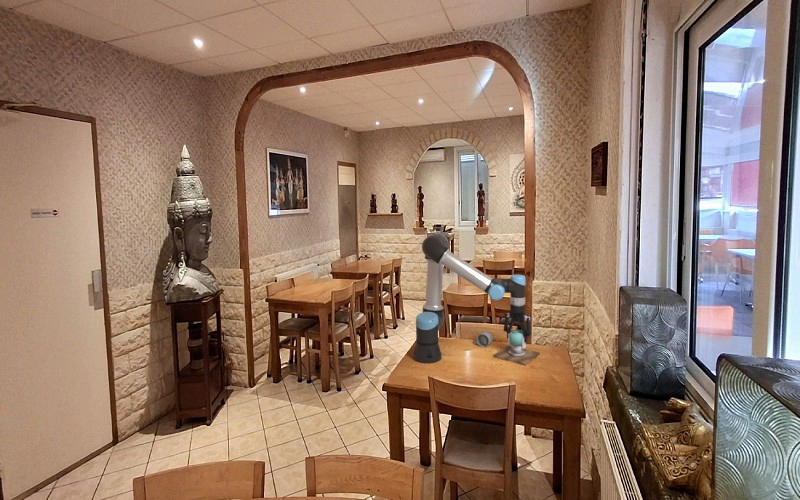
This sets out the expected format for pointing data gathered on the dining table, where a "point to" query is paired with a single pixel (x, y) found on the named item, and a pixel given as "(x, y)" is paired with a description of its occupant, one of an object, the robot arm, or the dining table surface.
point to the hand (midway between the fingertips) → (516, 346)
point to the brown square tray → (516, 354)
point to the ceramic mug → (484, 339)
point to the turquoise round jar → (516, 337)
